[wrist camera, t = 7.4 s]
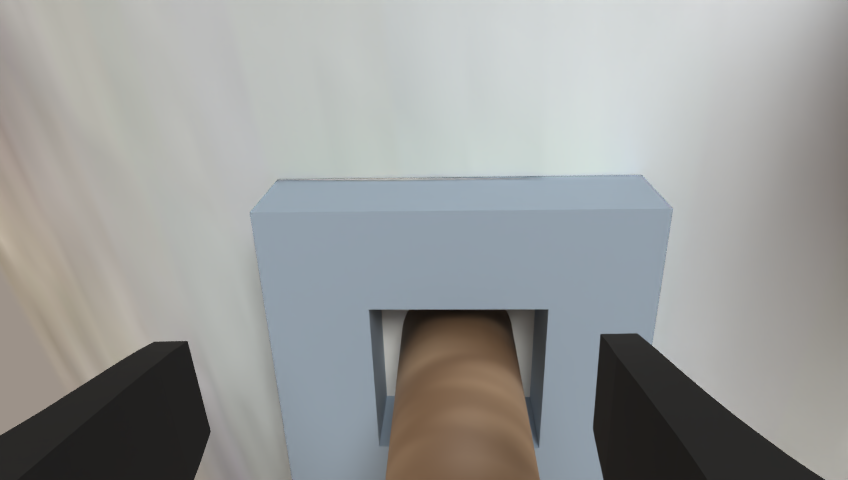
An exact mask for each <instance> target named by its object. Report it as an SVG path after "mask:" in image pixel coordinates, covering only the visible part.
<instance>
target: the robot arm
mask: <svg viewBox="0 0 848 480" xmlns="http://www.w3.org/2000/svg"><path fill="white" fill-rule="evenodd" d="M210 432H211V431H210V427H209V423H208V419H207V416H206V412H205V408H204V404H203V400H202V396H201V392H200V388H199V384H198V380H197V377H196V373H195V369H194V365H193V361H192V357H191V353H190V349H189V345H188V341H171V342H153V343H151V344H149V345H147V346H145V347H143V348H142V349H140V350H138V351H136V352H135V353H133V354H131V355H130V356H128V357H126V358H125V359H123V360H121V361H120V362H118V363H116V364H115V365H113V366H112V367H110V368H109V369H107V370H105V371H104V372H102V373H101V374H99V375H98V376H96V377H94V378H93V379H91V380H90V381H88V382H87V383H85V384H83V385H82V386H80V387H79V388H77V389H76V390H74V391H72V392H71V393H69V394H68V395H66V396H64V397H63V398H61V399H60V400H58V401H57V402H55V403H54V404H52V405H50V406H49V407H47V408H46V409H44V410H42V411H41V412H39V413H38V414H36V415H35V416H32V417H31V418H29V419H27V420H26V421H24V422H22V423H21V424H19V425H17V426H16V427H14V428H12V429H11V430H9V431H7V432H6V433H4V434H2V435H0V480H194V478H195V475H196V473H197V470H198V467H199V465H200V462H201V459H202V456H203V453H204V450H205V447H206V444H207V441H208V438H209V435H210ZM593 433H594V438H595V442H596V447H597V452H598V457H599V462H600V466H601V471H602V475H603V480H825V479H823V478H822V477H820V476H818V475H817V474H815V473H814V472H812V471H811V470H809V469H808V468H806V467H805V466H803V465H802V464H800V463H799V462H797V461H796V460H795V459H793V458H792V457H790V456H789V455H787V454H786V453H785V452H783V451H782V450H780V449H779V448H778V447H776V446H775V445H774V444H772V443H771V442H770V441H768V440H767V439H765V438H764V437H763V436H761V435H760V434H759V433H757V432H756V431H755V430H753V429H752V428H750V427H749V426H748V425H747V424H745V423H744V422H743V421H741V420H740V419H739V418H738V417H736V416H735V415H734V414H732V413H731V412H730V411H729V410H727V409H726V408H725V407H724V406H722V405H721V404H720V403H719V402H717V401H716V400H715V399H714V398H713V397H711V396H710V395H709V394H708V393H706V392H705V391H704V390H703V389H702V388H700V387H699V386H698V385H697V384H696V383H695V382H693V381H692V380H691V379H690V378H689V377H687V376H686V375H685V374H684V373H683V372H682V371H681V370H679V369H678V368H677V367H676V366H675V365H674V364H672V363H671V362H670V361H669V360H668V359H667V358H666V357H664V356H663V355H662V354H661V353H660V352H659V351H658V350H656V349H655V348H654V347H653V346H652V345H651V344H650V343H648V342H647V341H646V340H645V339H644V338H642V337H641V336H640V335H639V334H638V333H626V334H600V346H599V358H598V370H597V383H596V395H595V407H594V419H593Z"/></svg>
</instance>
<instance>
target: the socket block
mask: <svg viewBox="0 0 848 480" xmlns="http://www.w3.org/2000/svg"><path fill="white" fill-rule="evenodd" d="M672 212H673V208H672V207H671V206H670V205H669V204H668V203H667V202H666V201H665V199H664V198H663V197H662V196H661V195H660V194H659V193H658V192H657V191H656V190H655V189H654V188H653V186H652V185H651V184H650V183H649V182H648V181H647V180H646V179H645V178H644V177H643V176H642V175H605V176H525V177H444V178H363V179H283V180H277V181H276V182H275V183H274V184H273V186H272V187H271V188H270V189H269V190H268V192H267V193H266V194H265V195H264V196H263V198H262V199H261V200H260V201H259V202H258V203H257V205H256V206H255V207H254V208H253V209H252V211H251V212H250V217H251V224H252V230H253V236H254V242H255V249H256V255H257V261H258V268H259V274H260V280H261V286H262V293H263V299H264V305H265V312H266V318H267V324H268V331H269V337H270V343H271V349H272V356H273V362H274V368H275V375H276V381H277V387H278V393H279V400H280V406H281V412H282V419H283V425H284V431H285V438H286V444H287V450H288V456H289V463H290V469H291V475H292V480H385V478H386V469H387V460H388V452H389V443H390V434H391V425H392V416H393V408H394V399H395V390H396V381H397V372H398V364H399V355H400V346H401V337H402V328H403V323H404V319H405V317H406V314H407V312H408V311H409V310H421V309H505V310H506V311H507V313H508V315H509V317H510V321H511V325H512V330H513V336H514V341H515V346H516V352H517V357H518V363H519V368H520V374H521V379H522V384H523V390H524V395H525V401H526V406H527V412H528V417H529V423H530V428H531V433H532V439H533V444H534V450H535V455H536V461H537V466H538V472H539V477H540V480H603V475H602V471H601V466H600V462H599V457H598V452H597V447H596V442H595V438H594V433H593V419H594V407H595V395H596V383H597V370H598V358H599V346H600V334H626V333H638V334H639V335H640V336H641V337H642V338H644V339H645V340H646V341H647V342H648V343H650V344H651V345H652V342H653V335H654V329H655V322H656V316H657V309H658V303H659V296H660V290H661V283H662V277H663V270H664V264H665V257H666V251H667V244H668V238H669V231H670V225H671V218H672Z"/></svg>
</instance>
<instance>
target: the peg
mask: <svg viewBox="0 0 848 480" xmlns="http://www.w3.org/2000/svg"><path fill="white" fill-rule="evenodd" d="M385 480H540V477H539V472H538V466H537V461H536V455H535V450H534V444H533V439H532V433H531V428H530V423H529V417H528V412H527V406H526V401H525V395H524V390H523V384H522V379H521V374H520V368H519V363H518V357H517V352H516V346H515V341H514V336H513V330H512V325H511V321H510V317H509V315H508V313H507V311H506V310H505V309H421V310H409V311H408V312H407V314H406V317H405V319H404V323H403V328H402V337H401V346H400V355H399V364H398V372H397V381H396V390H395V399H394V408H393V416H392V425H391V434H390V443H389V452H388V460H387V469H386V478H385Z"/></svg>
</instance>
